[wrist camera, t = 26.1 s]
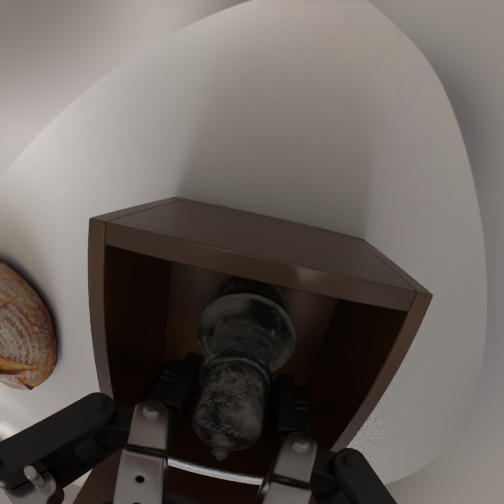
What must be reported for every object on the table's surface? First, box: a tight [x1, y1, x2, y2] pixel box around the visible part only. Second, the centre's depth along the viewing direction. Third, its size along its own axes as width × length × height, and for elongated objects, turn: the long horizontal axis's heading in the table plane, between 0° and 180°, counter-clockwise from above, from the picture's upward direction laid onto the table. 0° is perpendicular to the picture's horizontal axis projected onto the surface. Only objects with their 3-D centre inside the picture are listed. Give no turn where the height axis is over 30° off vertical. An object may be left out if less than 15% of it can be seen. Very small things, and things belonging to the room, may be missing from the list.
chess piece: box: [192, 277, 296, 462], centre depth 13 cm, size 6×6×12 cm
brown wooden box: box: [88, 197, 433, 482], centre depth 16 cm, size 15×14×10 cm
